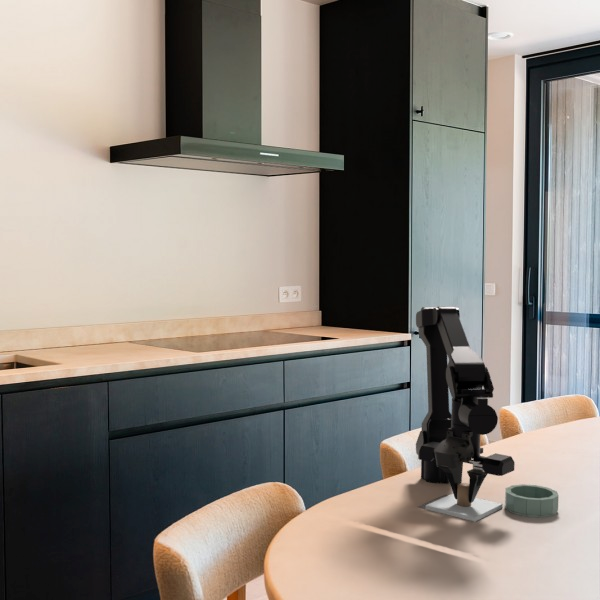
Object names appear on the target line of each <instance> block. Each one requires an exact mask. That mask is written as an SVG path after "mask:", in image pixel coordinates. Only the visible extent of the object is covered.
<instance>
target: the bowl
mask: <svg viewBox="0 0 600 600" xmlns="http://www.w3.org/2000/svg"><path fill="white" fill-rule="evenodd" d="M504 492H505V494H504V495H505V496H504V499H505V500H504V504H505V509H506V510H507V511H508V512H510V513H512V514H515V515H518V516H523V517H528V518H547V517H553V516H555V515H557V513H558V511H559V493H558V491H557V490H555V489H552V488H550V487H547V486H543V485H539V484H538V485H537V484H525V483H524V484H514V485H510V486H508V487H505V491H504Z"/></svg>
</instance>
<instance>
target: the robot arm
mask: <svg viewBox="0 0 600 600" xmlns="http://www.w3.org/2000/svg"><path fill="white" fill-rule="evenodd" d="M460 317H461V316H460V310H459V307H456V306H448V305H447V306H442V305H441V306H438V305H437V306H422V307H421V308H420V310H419V311H416V314H415V325H416V327H417V328H418V336H419V338H420V339H421V341H422V342H423V343H424V346H425V348H426V374H427V375H426V376H427V377H426V378H427V403H428V404H427V405H428V406H427V407H428V410H427V411H428V412H427V414H426V415H425V417H424V418H423V420H422V421H421V430H420V431H419V434H418V437H417V440H416V442H415V451H416V455H417V459H418V460H419V461H420V462H421V465H420V479H422V480H424V481H425V482H428V483H433V484H444V485H445V484H446V485H450V489H451V491H452V494H454V497H455V499H457V484H458V483H463V482H462V481H463V480H462V479H463V469H464V468H463V467H464V463H465V464H470V465H472V468H471V469H468V470H466V474H467V475H468V477H469V482H468V483H469V502H470V503H472V502H473V501H474V499H475V498H477V495H478V492H479V491H480V488H481V486H482V484H483V483H484V481H485V478H486V477H487V475H491V476H492V475H493V476H498V477H500V476H501V477H503V476H506V475H507V474H509V473H512V472H514V471H515V461H514V459H513V457H512V456H511V455H506V454H499V453H494V454H491V455H488V456H483V455H482V454H484V447H481V436H483V435H484V436H485V435H488V434H490V433H492V432H493V431H494V430H495V429H496V428H497V425H498V420H499V419H498V418H499V417H498V414H497V412H496V410H495V409H494V407H492V406H491V405H489V400H488V399H490V398H491V399H492V398H493V397H494V393H493V392H494V389H495V388H494V385H493V381H492V378H491V374H490V372H489V369H488V367H487V365H485V362H484V360H483V358H482V356H481V355H480V354H478V353H477V352H475V351H474V350H472V349H471V347H470V343H469V341H468V339H467V336H466V332H465V331H464V327H463V325H462V321H461V320H460ZM449 394H450V395H449ZM450 396H451V411H450V399H449V397H450Z"/></svg>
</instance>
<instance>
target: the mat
mask: <svg viewBox="0 0 600 600" xmlns="http://www.w3.org/2000/svg"><path fill="white" fill-rule="evenodd" d="M448 495H449V494H444V495H442V496H439V497H437V498H435V499H432V500H430V501H428V502H425V503H423V504H421V505H419V506H417V508H419V509H423V510H427V509H426V505H427V504H429V503H432V502H434V501H436V500H439V499H441V498H443V497H446V496H448ZM501 509H503V507H502V508H501ZM501 509H499V510H497V511H495V512H493V513H496V512H498V511H500V510H501ZM427 511H428V510H427ZM429 511H430V512H431V510H429ZM433 512H435V511H433ZM435 513H436V512H435ZM437 513H438V514H440V513H439V512H437ZM493 513H491V514H493ZM441 514H442V515H444V514H443V513H441ZM491 514H489V515H491ZM445 515H446V516H448V515H447V514H445ZM489 515H487V516H485V517H483V518H486V517H488V516H489ZM449 516H450V517H452V516H451V515H449ZM453 517H455V516H453ZM455 518H456V517H455ZM457 518H458V519H460V518H459V517H457ZM483 518H481V519H483ZM461 519H462V520H464V519H463V518H461ZM481 519H479V520H477V521H480V520H481ZM465 520H466V521H468V520H467V519H465ZM469 521H470V522H472V521H471V520H469ZM477 521H473V522H475V523H476V522H477Z"/></svg>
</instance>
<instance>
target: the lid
mask: <svg viewBox="0 0 600 600" xmlns="http://www.w3.org/2000/svg"><path fill="white" fill-rule="evenodd" d="M447 495H448V496H446V497H443V498H441V499H439V500H436V501H434V502H432V503H429V504H427V505H426V509H427V511H430V510H431V511H432V512H434V511H435V513H438V512H439V513H438V514H442V513H443V514H442V515H446V514H447V515H446V516H450V515H451V516H450V517H454V516H455V518H458V517H459V518H458V519H462V518H463V519H462V520H466V519H467V520H466V521H470V520H471V521H470V522H474V521H476V522H477V520H478V521H480V520H481V518H482V519H483V517H484V518H486V517H488V516H489V514H490V515H491V513H492V514H493V512H494V513H496V512H498V511H500V510H501V508H502V509H503V503H499V502H496V501H491V500H486V499H482V498H479V497H475V499H474V501H473V502H472V503H470V502H469V482H462V483H458V484H457V499H455V497H454V494H453V493H451V494H447ZM426 509H425V510H426ZM499 509H500V510H499ZM497 510H498V511H497ZM431 511H430V512H431ZM495 511H496V512H495ZM487 515H488V516H487ZM485 516H486V517H485ZM479 519H480V520H479Z"/></svg>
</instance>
